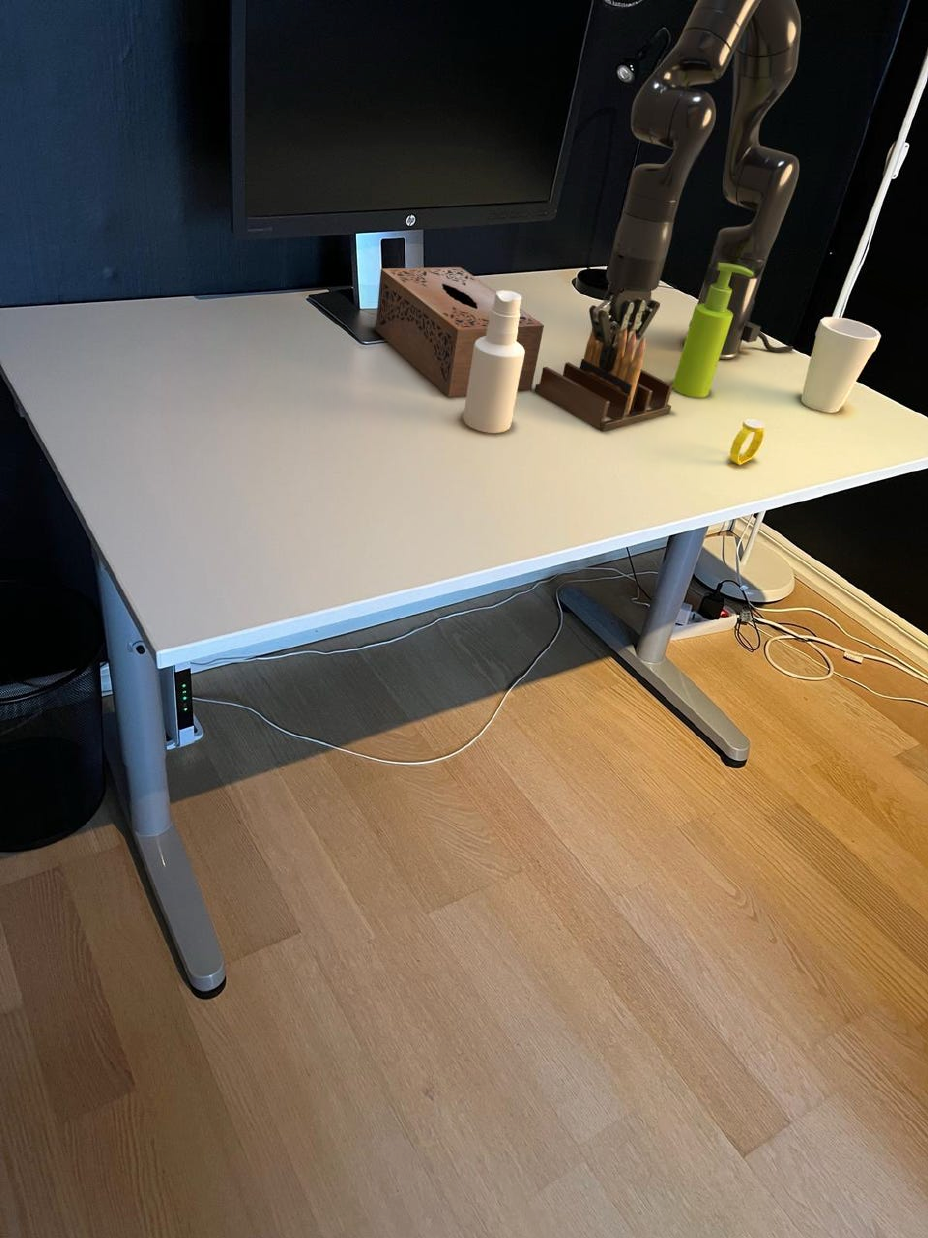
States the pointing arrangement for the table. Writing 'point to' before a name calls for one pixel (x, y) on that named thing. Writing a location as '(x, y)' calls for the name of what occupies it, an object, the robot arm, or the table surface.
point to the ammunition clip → (617, 364)
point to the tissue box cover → (445, 323)
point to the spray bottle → (496, 368)
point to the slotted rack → (603, 397)
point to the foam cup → (837, 361)
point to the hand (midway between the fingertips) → (610, 367)
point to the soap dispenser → (706, 336)
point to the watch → (747, 429)
